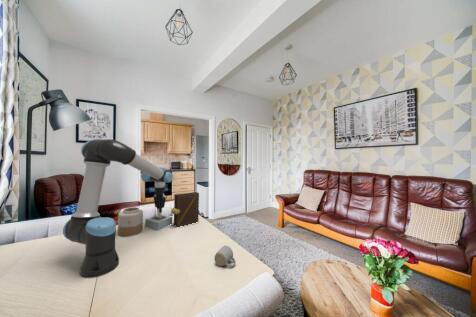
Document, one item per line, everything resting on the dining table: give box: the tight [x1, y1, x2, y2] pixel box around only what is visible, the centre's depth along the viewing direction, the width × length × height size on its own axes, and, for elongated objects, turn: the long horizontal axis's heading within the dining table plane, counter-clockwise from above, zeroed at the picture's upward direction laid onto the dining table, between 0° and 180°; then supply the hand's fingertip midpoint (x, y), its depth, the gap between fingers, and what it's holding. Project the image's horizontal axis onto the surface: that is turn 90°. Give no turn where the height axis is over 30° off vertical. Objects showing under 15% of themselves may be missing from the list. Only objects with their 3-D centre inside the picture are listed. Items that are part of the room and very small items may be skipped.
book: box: [171, 191, 200, 228], centre depth 146 cm, size 22×8×25 cm, turn 130°
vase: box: [117, 206, 144, 238], centre depth 129 cm, size 15×15×17 cm
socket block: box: [144, 214, 173, 231], centre depth 142 cm, size 14×14×7 cm
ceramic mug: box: [214, 245, 236, 269], centre depth 95 cm, size 11×8×8 cm
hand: (159, 216), depth 142 cm, fingers closed
